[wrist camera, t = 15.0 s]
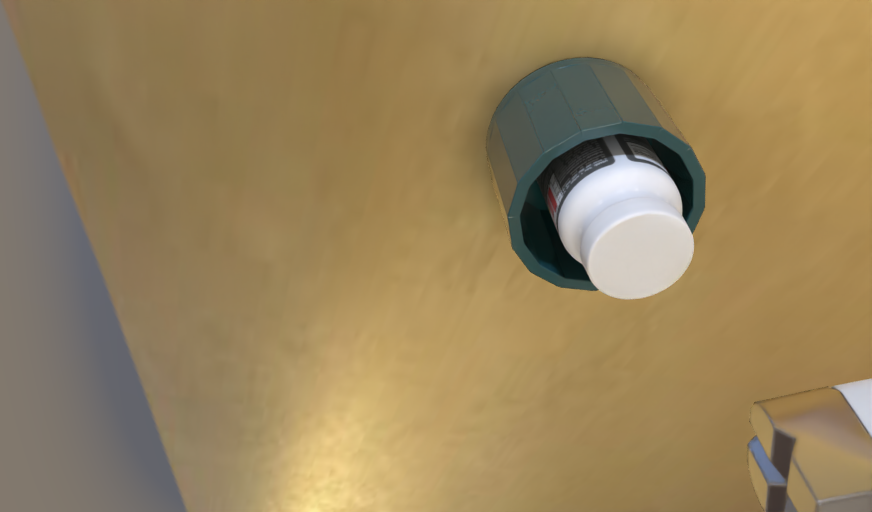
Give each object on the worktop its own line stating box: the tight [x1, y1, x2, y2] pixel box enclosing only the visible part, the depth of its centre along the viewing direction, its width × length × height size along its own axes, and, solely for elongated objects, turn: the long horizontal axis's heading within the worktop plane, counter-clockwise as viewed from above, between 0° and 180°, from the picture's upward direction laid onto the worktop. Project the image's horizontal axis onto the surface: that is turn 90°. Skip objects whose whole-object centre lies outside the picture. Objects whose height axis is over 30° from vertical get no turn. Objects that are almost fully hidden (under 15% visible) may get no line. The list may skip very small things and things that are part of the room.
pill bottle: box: [536, 134, 694, 299], centre depth 39 cm, size 6×6×10 cm
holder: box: [486, 58, 706, 291], centre depth 41 cm, size 9×9×7 cm
